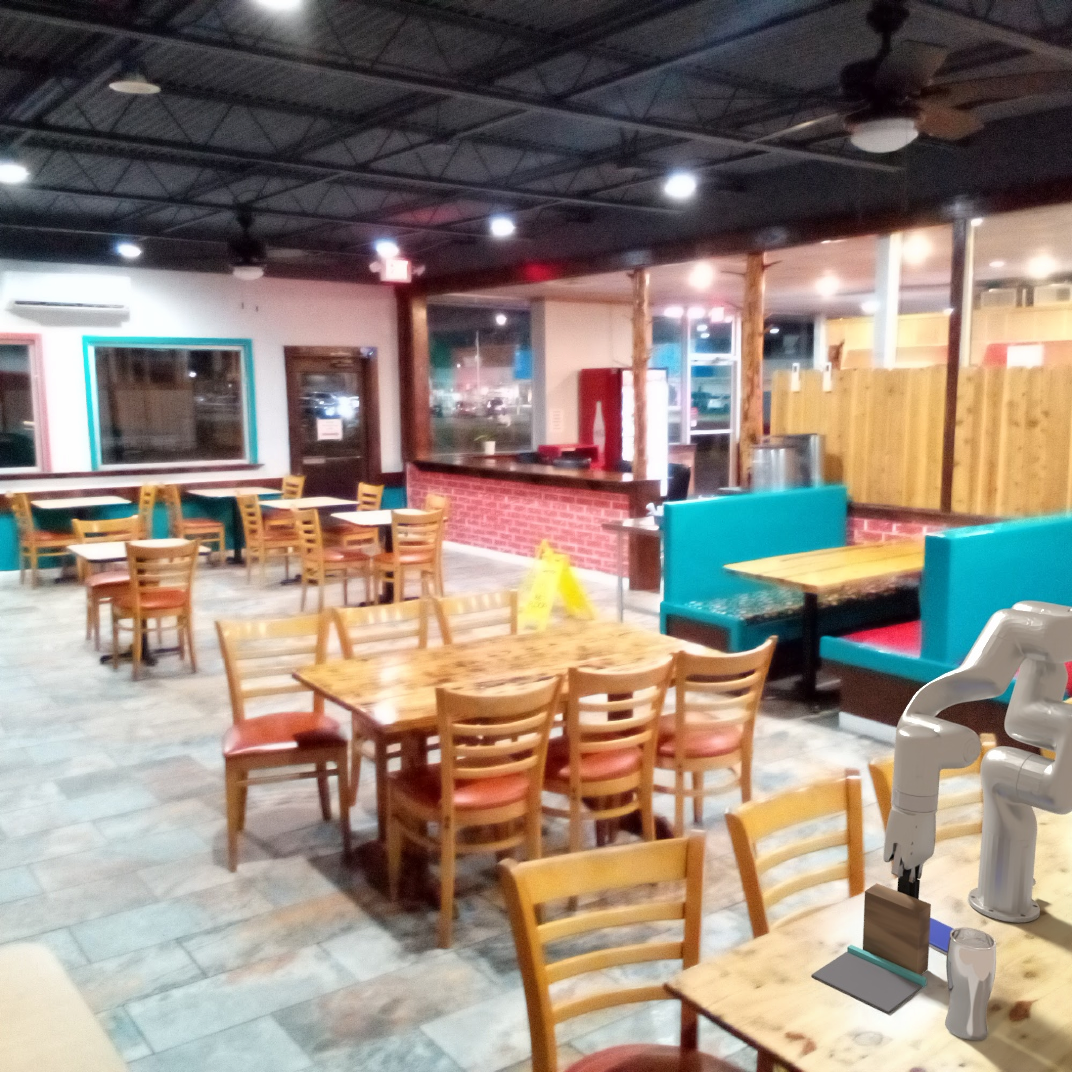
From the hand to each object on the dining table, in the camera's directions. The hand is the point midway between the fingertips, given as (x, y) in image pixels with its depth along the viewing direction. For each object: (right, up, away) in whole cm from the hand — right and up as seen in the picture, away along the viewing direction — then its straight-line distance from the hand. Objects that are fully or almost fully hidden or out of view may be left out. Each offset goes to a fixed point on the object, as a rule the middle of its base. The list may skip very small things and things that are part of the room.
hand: (907, 899), depth 176 cm
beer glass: (+2, -13, -20) cm, 24 cm away
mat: (-10, -11, -7) cm, 16 cm away
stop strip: (-5, -11, -3) cm, 12 cm away
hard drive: (+9, -11, +6) cm, 15 cm away
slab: (-3, -11, -1) cm, 11 cm away
